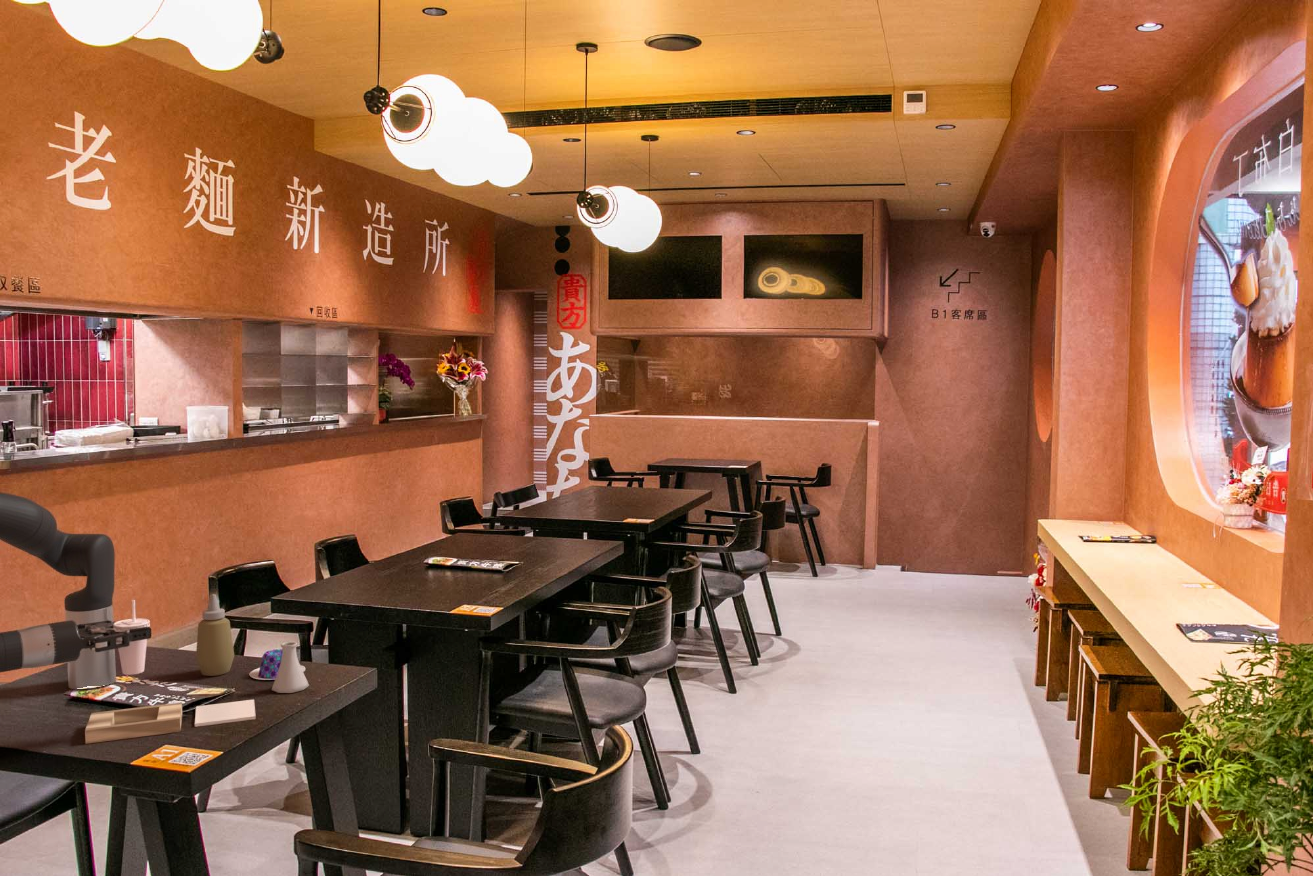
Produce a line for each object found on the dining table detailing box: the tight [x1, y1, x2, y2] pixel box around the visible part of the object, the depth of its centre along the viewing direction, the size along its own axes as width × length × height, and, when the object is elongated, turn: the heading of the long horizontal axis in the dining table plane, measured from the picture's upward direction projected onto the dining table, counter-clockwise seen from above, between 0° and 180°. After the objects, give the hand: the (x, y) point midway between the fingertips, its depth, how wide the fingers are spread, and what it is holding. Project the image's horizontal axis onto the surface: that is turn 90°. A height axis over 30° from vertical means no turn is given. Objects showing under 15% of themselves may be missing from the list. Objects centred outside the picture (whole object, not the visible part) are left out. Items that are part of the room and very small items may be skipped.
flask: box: [271, 641, 310, 694], centre depth 224 cm, size 7×7×10 cm
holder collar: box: [84, 701, 183, 744], centre depth 200 cm, size 10×16×2 cm, turn 113°
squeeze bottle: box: [195, 593, 235, 677], centre depth 236 cm, size 8×8×18 cm
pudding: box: [248, 648, 306, 681], centre depth 235 cm, size 12×12×5 cm
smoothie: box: [113, 599, 151, 676], centre depth 199 cm, size 6×6×14 cm
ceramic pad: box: [194, 699, 257, 728], centre depth 208 cm, size 11×11×1 cm
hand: (144, 628), depth 201 cm, fingers closed on smoothie, 6 cm apart
